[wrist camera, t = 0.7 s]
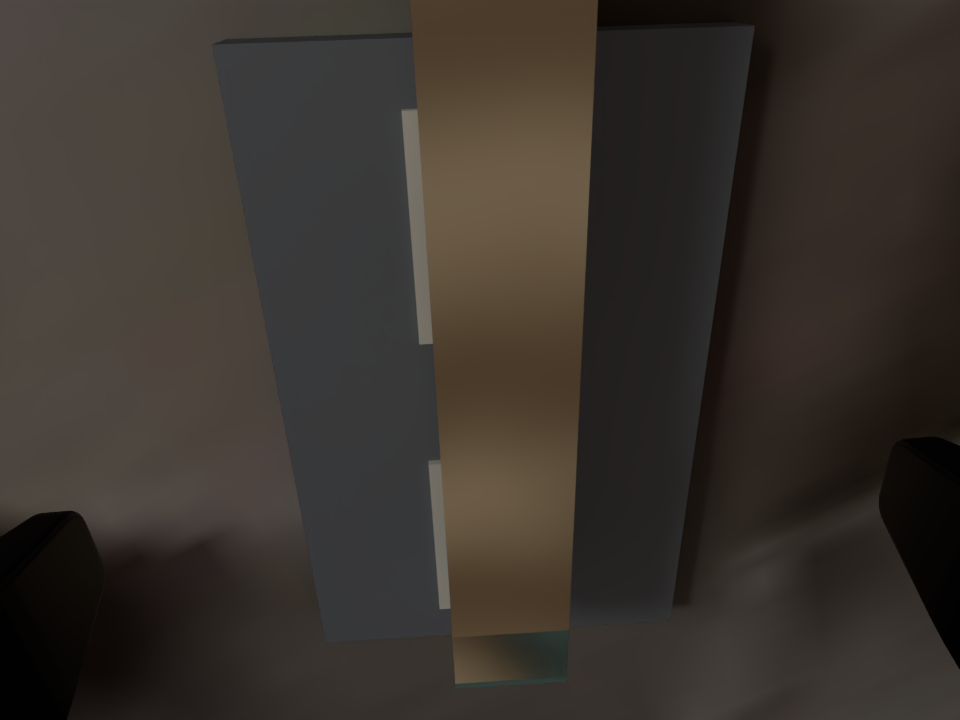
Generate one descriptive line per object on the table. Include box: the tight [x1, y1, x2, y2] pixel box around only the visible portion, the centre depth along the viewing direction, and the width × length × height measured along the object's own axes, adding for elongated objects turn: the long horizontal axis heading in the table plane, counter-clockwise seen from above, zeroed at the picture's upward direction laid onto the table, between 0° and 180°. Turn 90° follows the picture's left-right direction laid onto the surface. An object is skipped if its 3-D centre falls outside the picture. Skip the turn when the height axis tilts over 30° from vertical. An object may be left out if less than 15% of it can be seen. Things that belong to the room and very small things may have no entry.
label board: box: [212, 22, 755, 643], centre depth 21 cm, size 19×12×1 cm, turn 2°
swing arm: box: [410, 0, 598, 689], centre depth 16 cm, size 21×4×5 cm, turn 2°
